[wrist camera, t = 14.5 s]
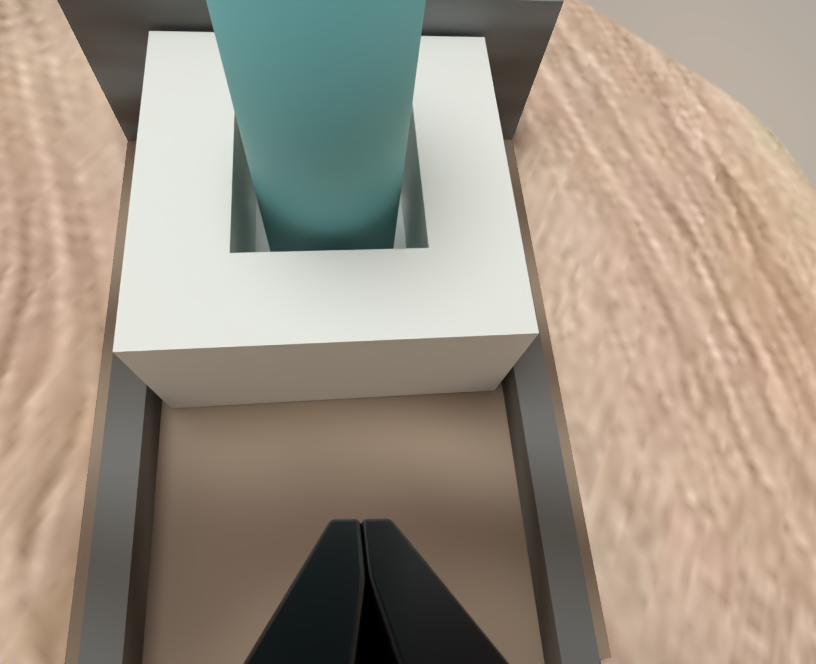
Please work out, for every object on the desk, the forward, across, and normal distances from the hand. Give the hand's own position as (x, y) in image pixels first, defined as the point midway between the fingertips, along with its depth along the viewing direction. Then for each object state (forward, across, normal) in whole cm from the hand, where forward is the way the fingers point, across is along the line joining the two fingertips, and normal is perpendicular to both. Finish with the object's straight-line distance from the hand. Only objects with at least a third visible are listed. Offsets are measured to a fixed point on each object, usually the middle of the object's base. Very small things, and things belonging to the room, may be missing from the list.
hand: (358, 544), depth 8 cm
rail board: (+12, 0, +2) cm, 12 cm away
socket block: (+13, 0, -1) cm, 13 cm away
